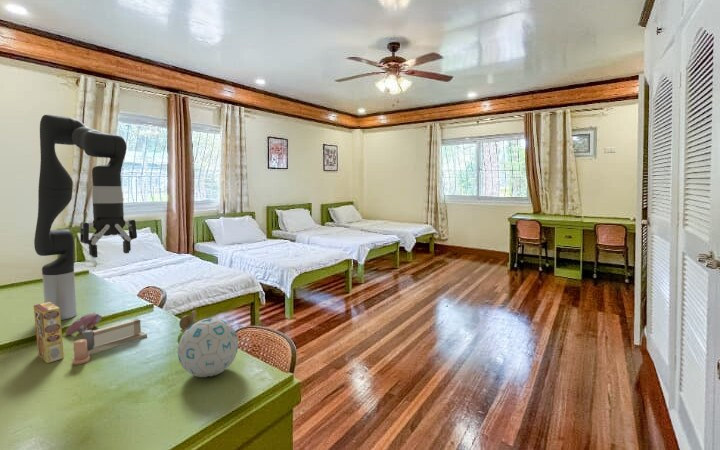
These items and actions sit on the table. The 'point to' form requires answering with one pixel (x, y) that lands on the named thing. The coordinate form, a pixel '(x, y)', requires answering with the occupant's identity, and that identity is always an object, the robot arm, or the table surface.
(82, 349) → the peach rounded knob
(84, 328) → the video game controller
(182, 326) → the snail figurine
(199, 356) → the puzzle ball
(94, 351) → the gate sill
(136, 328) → the beige wooden bar
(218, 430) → the table surface
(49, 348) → the candy box
